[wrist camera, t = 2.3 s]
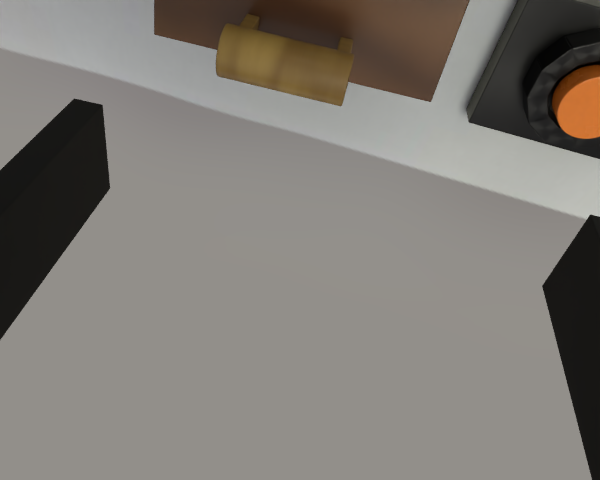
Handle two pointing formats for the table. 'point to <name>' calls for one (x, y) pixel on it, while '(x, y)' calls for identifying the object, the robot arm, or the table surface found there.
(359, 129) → the table surface
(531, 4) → the box
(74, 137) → the robot arm
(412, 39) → the dark wooden panel
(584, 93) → the button
